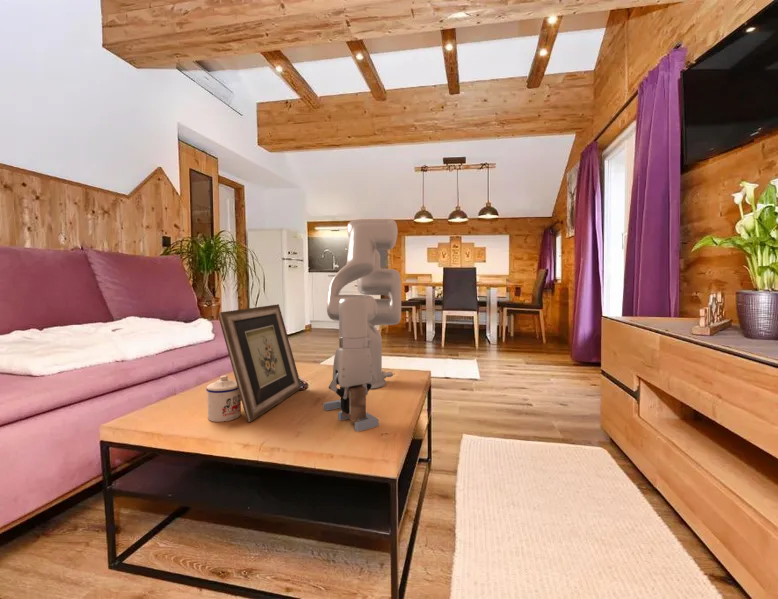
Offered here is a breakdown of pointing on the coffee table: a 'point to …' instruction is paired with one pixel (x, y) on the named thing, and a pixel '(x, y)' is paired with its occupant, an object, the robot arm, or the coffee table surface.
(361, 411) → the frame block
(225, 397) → the teacup with lid
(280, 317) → the picture frame
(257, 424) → the coffee table surface
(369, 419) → the grey e-shaped bracket
